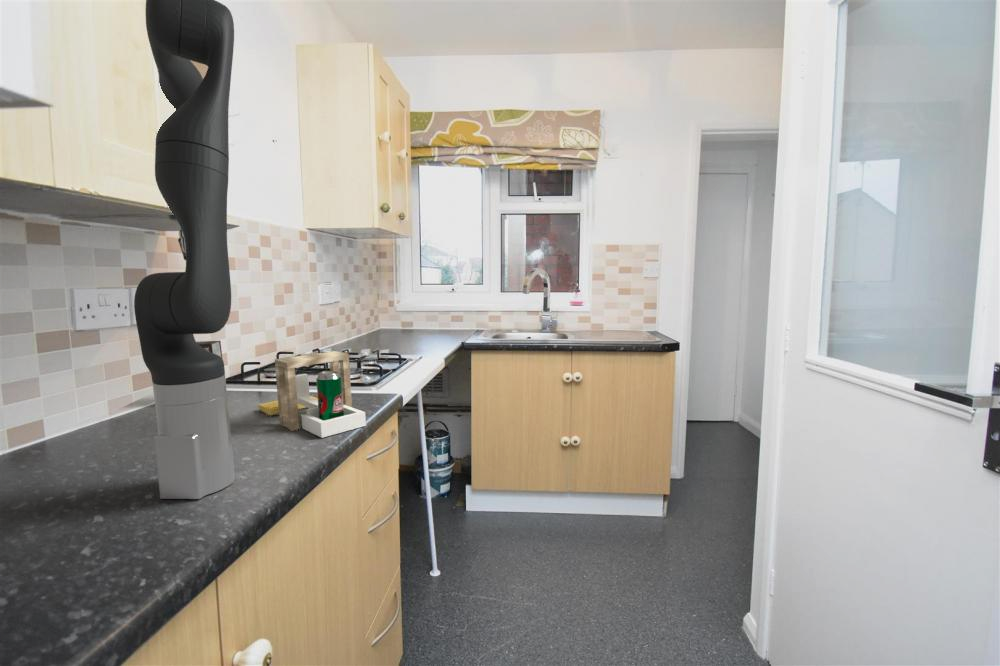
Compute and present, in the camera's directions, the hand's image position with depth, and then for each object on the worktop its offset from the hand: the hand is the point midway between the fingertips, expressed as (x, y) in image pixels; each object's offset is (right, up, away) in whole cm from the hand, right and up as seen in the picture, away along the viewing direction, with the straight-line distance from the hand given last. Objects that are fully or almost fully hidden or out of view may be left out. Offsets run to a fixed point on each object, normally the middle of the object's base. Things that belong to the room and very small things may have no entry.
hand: (196, 280), depth 100 cm
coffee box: (-13, -30, +23) cm, 40 cm away
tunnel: (+24, -31, +6) cm, 40 cm away
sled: (+25, -31, +4) cm, 40 cm away
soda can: (+29, -32, +1) cm, 43 cm away
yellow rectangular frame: (+13, -30, +16) cm, 36 cm away
